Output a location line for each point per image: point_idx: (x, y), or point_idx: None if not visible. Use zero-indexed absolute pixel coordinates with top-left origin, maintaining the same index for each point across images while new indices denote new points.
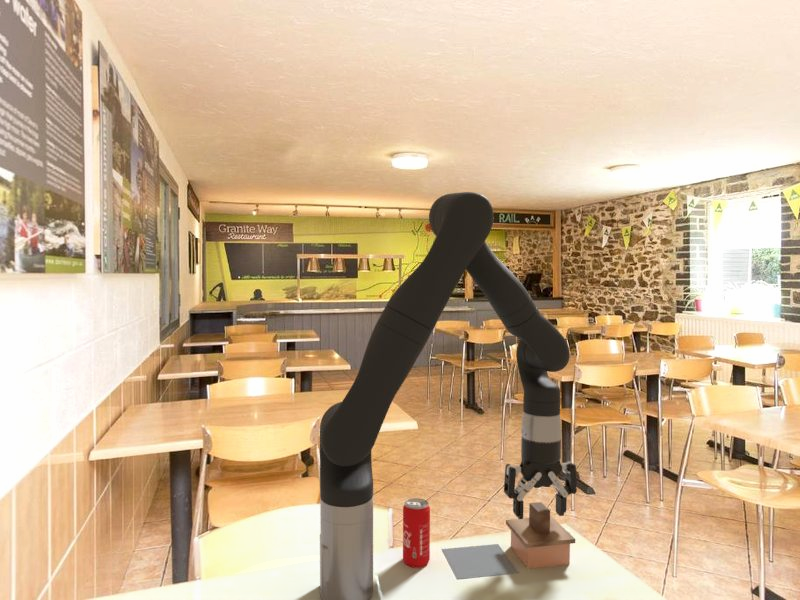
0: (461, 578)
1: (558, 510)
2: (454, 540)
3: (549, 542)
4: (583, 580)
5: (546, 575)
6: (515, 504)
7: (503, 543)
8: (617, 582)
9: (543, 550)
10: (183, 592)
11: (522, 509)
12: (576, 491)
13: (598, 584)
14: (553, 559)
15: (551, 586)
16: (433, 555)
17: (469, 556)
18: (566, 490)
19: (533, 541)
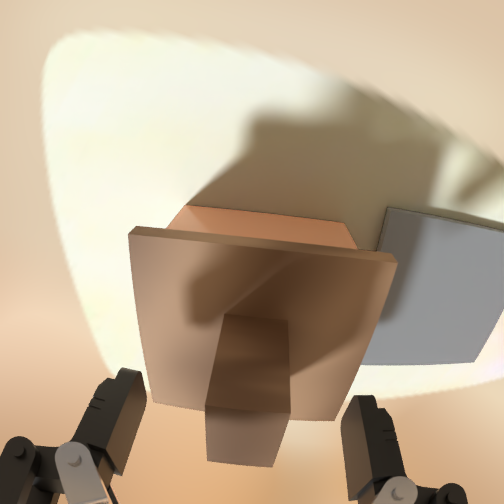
0: None
1: (137, 399)
2: (414, 393)
3: (273, 246)
4: (182, 117)
5: (296, 180)
6: (399, 460)
7: None
8: (85, 89)
9: None
10: None
11: (369, 435)
12: (8, 441)
13: (146, 85)
14: (244, 223)
15: (319, 114)
16: (490, 347)
17: (451, 326)
18: (58, 474)
19: (351, 271)
